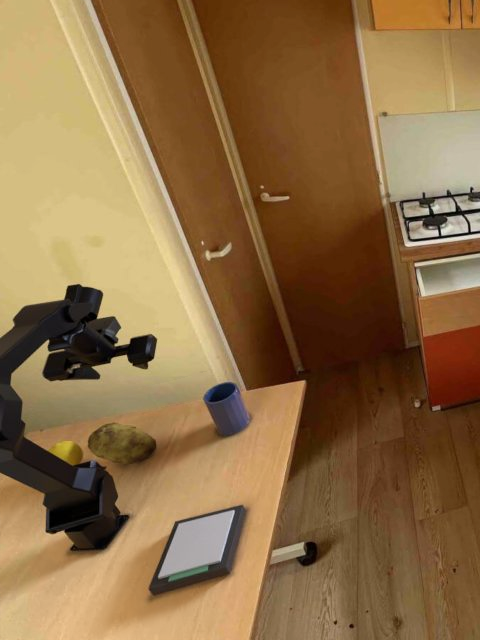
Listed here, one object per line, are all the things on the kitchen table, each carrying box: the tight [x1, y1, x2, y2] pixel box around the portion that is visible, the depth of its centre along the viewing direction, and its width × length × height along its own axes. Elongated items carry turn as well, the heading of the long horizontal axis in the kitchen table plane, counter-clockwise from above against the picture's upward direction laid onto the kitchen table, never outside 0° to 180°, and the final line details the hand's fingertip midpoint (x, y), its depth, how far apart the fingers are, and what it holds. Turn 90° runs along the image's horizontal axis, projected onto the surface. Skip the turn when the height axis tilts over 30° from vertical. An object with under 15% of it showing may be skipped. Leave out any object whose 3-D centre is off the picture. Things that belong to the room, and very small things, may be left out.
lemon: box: [47, 440, 84, 465], centre depth 94 cm, size 6×6×8 cm
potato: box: [87, 422, 157, 465], centre depth 97 cm, size 8×13×8 cm, turn 67°
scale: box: [147, 504, 247, 597], centre depth 80 cm, size 12×12×3 cm
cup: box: [202, 381, 251, 437], centre depth 104 cm, size 7×7×11 cm
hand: (123, 372), depth 99 cm, fingers open, 9 cm apart
